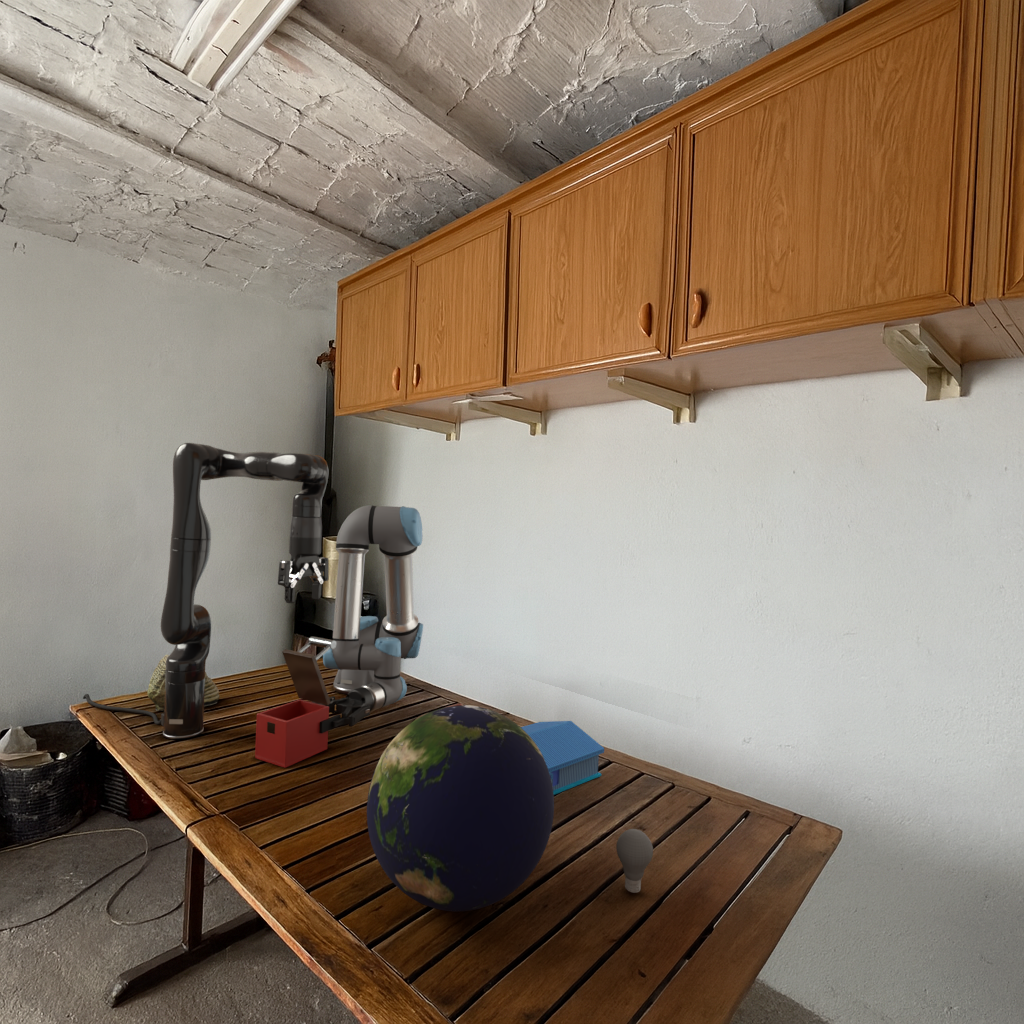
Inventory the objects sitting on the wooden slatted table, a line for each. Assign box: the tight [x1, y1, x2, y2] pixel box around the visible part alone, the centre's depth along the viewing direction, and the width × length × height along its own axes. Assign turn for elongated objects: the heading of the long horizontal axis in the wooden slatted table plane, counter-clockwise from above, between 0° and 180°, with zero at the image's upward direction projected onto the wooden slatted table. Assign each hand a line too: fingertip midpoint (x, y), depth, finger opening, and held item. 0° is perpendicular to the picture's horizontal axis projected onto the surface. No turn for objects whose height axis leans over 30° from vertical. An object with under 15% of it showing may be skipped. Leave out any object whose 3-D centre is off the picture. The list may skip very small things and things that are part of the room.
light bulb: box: [615, 828, 654, 894], centre depth 106 cm, size 6×6×10 cm
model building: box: [520, 720, 605, 796], centre depth 143 cm, size 39×24×10 cm, turn 132°
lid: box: [281, 636, 337, 705], centre depth 162 cm, size 15×10×10 cm
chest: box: [254, 698, 330, 769], centre depth 155 cm, size 14×10×11 cm
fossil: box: [147, 654, 221, 712], centre depth 185 cm, size 9×18×15 cm, turn 132°
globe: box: [366, 704, 555, 913], centre depth 102 cm, size 30×30×30 cm
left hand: (303, 600), depth 156 cm, fingers open, 8 cm apart
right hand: (304, 723), depth 158 cm, fingers closed on chest, 10 cm apart
